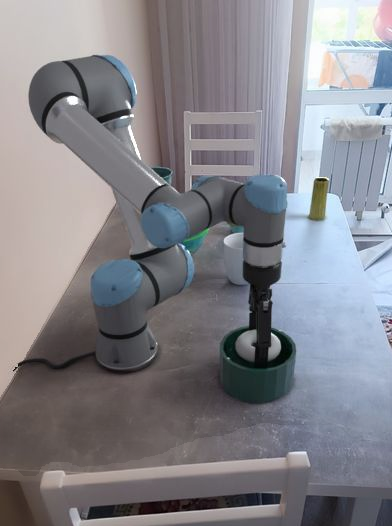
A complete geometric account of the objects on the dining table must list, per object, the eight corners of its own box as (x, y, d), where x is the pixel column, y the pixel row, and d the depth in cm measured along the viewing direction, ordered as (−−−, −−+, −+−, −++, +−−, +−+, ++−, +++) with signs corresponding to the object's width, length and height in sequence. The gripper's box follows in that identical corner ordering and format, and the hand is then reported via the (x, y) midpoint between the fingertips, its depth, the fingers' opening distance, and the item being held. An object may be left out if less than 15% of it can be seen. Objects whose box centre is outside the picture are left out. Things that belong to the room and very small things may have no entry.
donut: (227, 358, 105) (270, 371, 101) (227, 346, 103) (270, 358, 99) (246, 334, 112) (287, 345, 108) (246, 322, 110) (288, 333, 106)
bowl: (171, 278, 150) (169, 249, 144) (130, 255, 163) (126, 227, 157) (223, 255, 161) (223, 227, 155) (180, 235, 175) (179, 209, 169)
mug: (275, 287, 144) (278, 246, 136) (245, 298, 139) (247, 257, 131) (244, 268, 154) (245, 229, 146) (216, 278, 149) (215, 238, 141)
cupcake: (253, 229, 177) (254, 197, 170) (242, 238, 172) (243, 205, 164) (233, 225, 181) (233, 193, 174) (221, 233, 175) (221, 201, 168)
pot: (248, 413, 102) (249, 381, 97) (206, 371, 114) (205, 341, 108) (307, 384, 109) (312, 353, 103) (262, 347, 120) (264, 317, 115)
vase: (326, 220, 182) (331, 182, 173) (310, 220, 182) (314, 182, 173) (323, 213, 186) (328, 176, 178) (307, 214, 187) (311, 177, 178)
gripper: (292, 288, 84) (283, 384, 98) (272, 234, 102) (267, 321, 115) (249, 290, 84) (246, 385, 98) (237, 236, 102) (235, 323, 115)
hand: (257, 351), depth 106 cm, fingers closed on donut, 10 cm apart
